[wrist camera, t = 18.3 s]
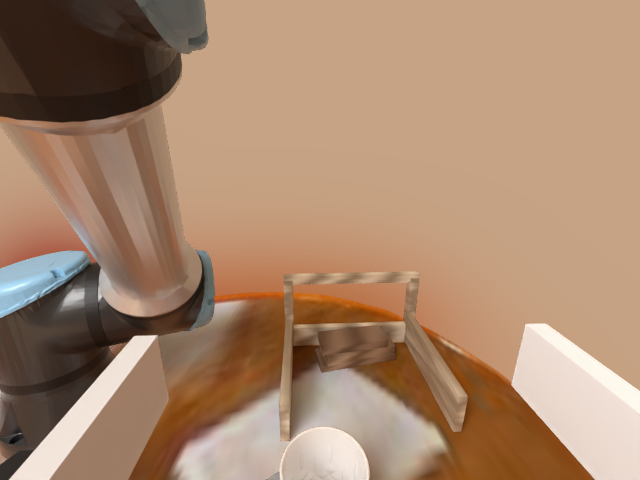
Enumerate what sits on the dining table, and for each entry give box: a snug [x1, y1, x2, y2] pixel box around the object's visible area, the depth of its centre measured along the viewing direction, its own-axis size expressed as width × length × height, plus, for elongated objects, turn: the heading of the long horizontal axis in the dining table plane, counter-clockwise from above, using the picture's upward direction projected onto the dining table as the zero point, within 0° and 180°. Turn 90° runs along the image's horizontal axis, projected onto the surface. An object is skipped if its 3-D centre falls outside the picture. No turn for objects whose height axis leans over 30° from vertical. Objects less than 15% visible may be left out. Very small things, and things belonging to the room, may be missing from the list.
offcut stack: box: [315, 325, 396, 373], centre depth 56 cm, size 14×6×5 cm, turn 104°
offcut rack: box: [279, 272, 468, 441], centre depth 49 cm, size 25×21×15 cm
